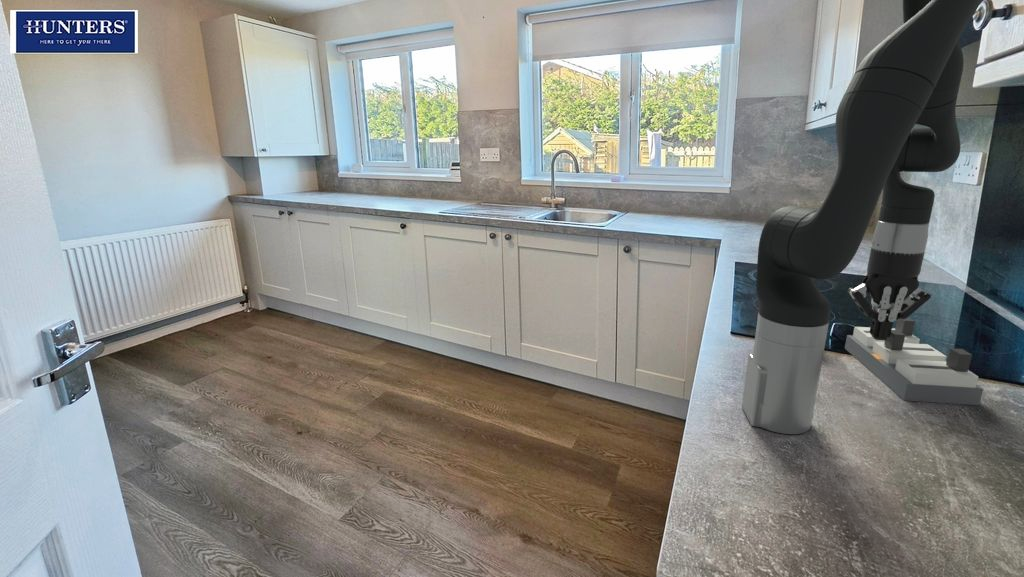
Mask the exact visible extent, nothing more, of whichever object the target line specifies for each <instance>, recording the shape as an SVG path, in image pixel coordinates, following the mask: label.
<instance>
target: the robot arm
mask: <svg viewBox="0 0 1024 577" xmlns="http://www.w3.org/2000/svg"><path fill="white" fill-rule="evenodd" d="M981 1H982V0H902V19H903V20H902V23H903V24H902V25H900V26H899V27H897V29H895V30H894V31H893V32H892V33H891V34H889V35H888V36H887V37H885V38H884V39H883V40H882V41H881V42H880V43H878V44H877V45H876V46H875V47H874V48H872V49H871V50H870V51H869V53H868V54H867V55H866V56H864V58H863V59H862V61H861V62H860V64H859V65H858V67H857V68H856V70H855V72H854V74H853V76H852V78H851V80H850V82H849V84H848V86H847V87H846V90H845V92H844V94H843V96H842V98H841V100H840V102H839V104H838V108H837V109H836V110H837V111H836V115H835V137H836V146H837V155H838V161H837V162H838V163H837V170H836V174H835V176H834V179H833V181H832V184H831V186H830V188H829V191H828V193H827V195H826V197H825V199H824V200H823V202H822V203H821V206H820V208H813V207H807V206H799V205H788V206H784V207H781V208H779V209H777V210H775V211H774V212H773V213H772V214H771V215H770V216H769V217H768V219H767V220H766V222H765V223H764V224H763V227H762V230H761V233H760V237H759V242H758V250H757V262H756V276H755V278H756V280H755V293H756V297H757V300H758V306H759V307H758V313H757V319H756V320H757V321H756V329H755V335H754V343H753V344H754V345H753V351H752V352H753V353H750V354H748V357H747V363H746V364H747V365H746V372H745V379H744V380H745V381H744V388H743V394H742V403H741V408H742V410H743V412H744V414H745V416H746V418H747V420H748V422H749V424H750V425H751V426H752V427H759V428H762V429H765V430H768V431H770V432H773V433H779V434H782V435H799V434H804V433H806V432H808V431H809V430H810V429H811V427H812V421H813V418H814V411H815V406H816V398H817V394H818V393H817V392H818V387H819V381H820V376H821V371H822V364H823V358H824V353H825V346H826V341H827V335H828V330H829V326H830V324H829V323H830V319H831V314H832V305H831V303H830V301H829V299H828V298H827V297H826V296H825V295H823V294H822V293H821V291H820V290H819V289H818V288H817V287H816V285H815V283H814V282H813V279H817V280H829V279H832V278H835V277H836V276H837V275H839V274H841V273H842V272H843V271H845V269H846V268H847V267H848V265H850V263H851V262H852V260H853V259H854V257H855V256H856V254H857V252H858V250H859V248H860V246H861V243H862V241H863V239H864V236H865V234H866V231H867V229H868V226H869V225H870V221H871V219H872V216H873V214H874V211H875V209H876V206H877V204H878V201H879V199H880V196H881V194H882V198H881V204H880V207H879V208H880V209H879V214H878V218H877V219H878V221H877V223H876V226H875V229H874V232H873V236H872V240H871V247H870V252H869V258H868V263H867V267H866V268H867V269H866V271H867V273H866V276H865V277H864V278H863V279H862V281H861V284H859V285H858V286H856V287H849V288H847V294H848V295H849V296H850V298H851V299H852V300H853V302H854V303H855V305H856V306H857V307H858V309H859V311H860V312H861V313H862V314H863V315H865V316H867V317H868V318H870V319H871V322H870V326H869V327H870V334H871V335H872V337H873V338H874V339H876V340H886V339H887V337H888V338H889V336H890V335H891V330H892V328H893V325H894V323H895V321H897V319H906V318H907V317H910V316H911V315H912V314H913V313H915V311H917V310H918V309H919V308H920V307H921V306H923V305H924V304H926V302H927V301H929V300H930V299H931V297H932V295H931V294H930V293H929V292H927V291H925V290H923V289H922V288H921V287H919V286H920V281H919V279H918V277H919V276H920V275H921V270H922V266H923V262H924V257H925V253H926V248H927V243H928V237H929V225H930V222H931V216H932V212H933V207H934V202H935V197H936V196H935V191H934V190H933V189H931V188H929V187H925V186H920V185H916V184H911V183H907V182H906V181H904V180H903V178H902V177H901V173H903V172H904V173H939V172H940V173H941V172H943V171H944V172H945V171H946V170H949V168H951V167H952V166H953V165H954V164H955V163H956V162H957V161H958V160H959V159H958V158H959V157H960V153H961V137H960V135H959V134H960V133H959V129H958V125H957V118H956V116H957V115H956V107H957V100H958V96H959V90H960V85H961V82H962V81H961V80H962V76H963V71H964V59H965V58H964V53H963V50H962V46H961V44H960V41H959V39H960V37H961V36H962V34H963V32H964V30H965V28H966V26H967V25H968V23H969V22H970V19H971V17H972V15H973V14H974V13H975V11H976V9H977V8H978V6H979V4H980V3H981ZM915 125H920V126H923V127H922V128H920V127H919V128H914V126H915ZM812 278H813V279H812ZM867 294H868V295H869V297H870V298H871V301H870V303H871V305H870V304H869V303H868V301H867V300H866V297H867Z"/></svg>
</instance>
